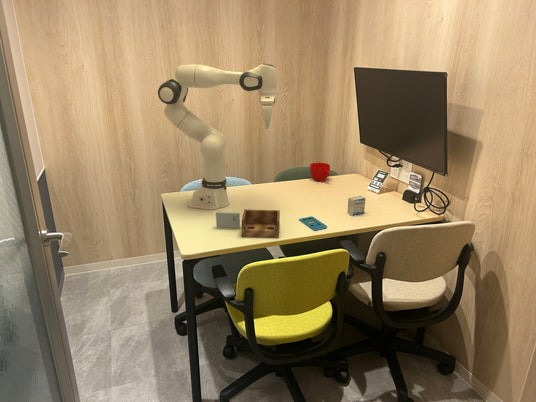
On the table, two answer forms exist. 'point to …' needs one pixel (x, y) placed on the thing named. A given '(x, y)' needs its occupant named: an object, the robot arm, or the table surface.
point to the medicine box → (356, 205)
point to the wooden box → (261, 223)
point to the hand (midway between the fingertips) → (267, 127)
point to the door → (228, 220)
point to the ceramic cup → (319, 171)
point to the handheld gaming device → (313, 223)
